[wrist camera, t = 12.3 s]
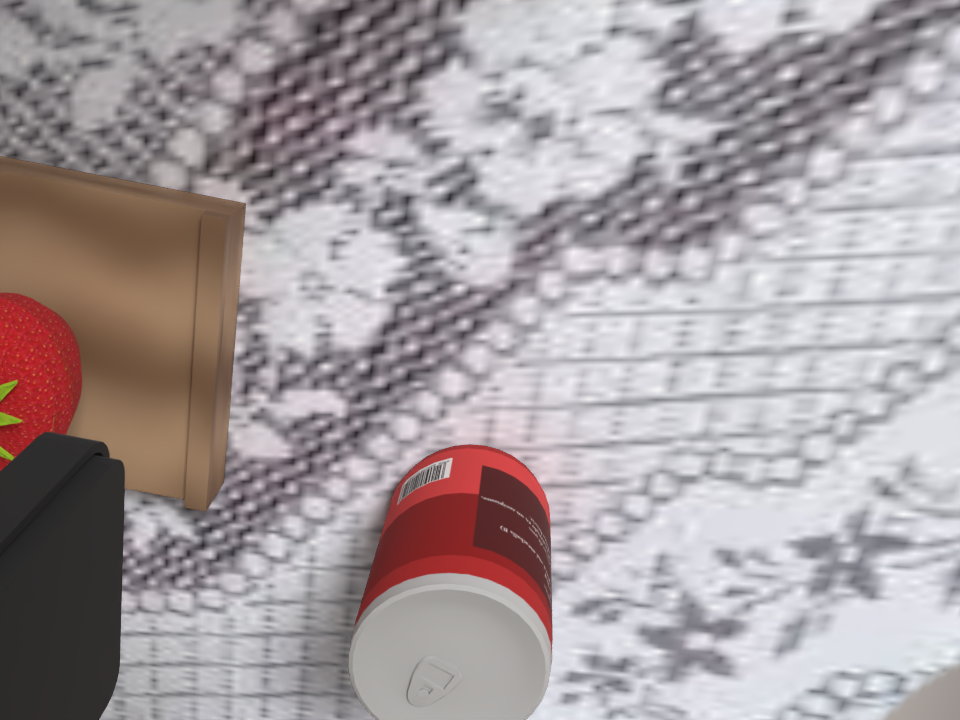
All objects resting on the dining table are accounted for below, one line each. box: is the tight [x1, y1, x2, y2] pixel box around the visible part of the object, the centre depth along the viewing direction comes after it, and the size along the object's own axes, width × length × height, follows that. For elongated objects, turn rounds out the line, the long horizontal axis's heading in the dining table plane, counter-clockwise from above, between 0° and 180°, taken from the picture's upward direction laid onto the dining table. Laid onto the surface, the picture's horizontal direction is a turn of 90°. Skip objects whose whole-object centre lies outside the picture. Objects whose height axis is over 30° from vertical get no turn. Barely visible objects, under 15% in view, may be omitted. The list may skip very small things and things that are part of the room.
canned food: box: [348, 445, 552, 720], centre depth 39 cm, size 8×8×11 cm
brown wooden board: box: [0, 156, 246, 511], centre depth 41 cm, size 14×14×3 cm
